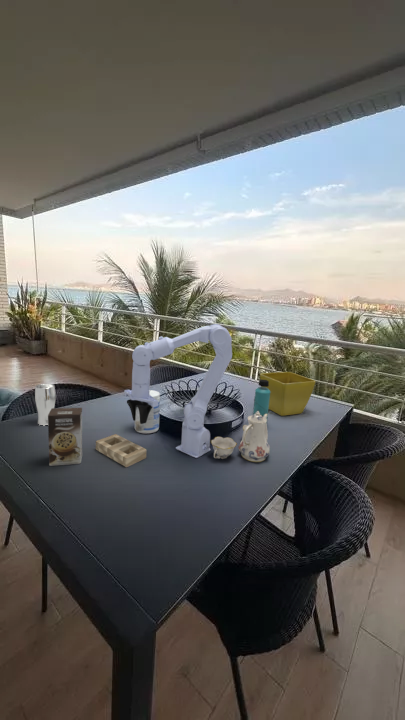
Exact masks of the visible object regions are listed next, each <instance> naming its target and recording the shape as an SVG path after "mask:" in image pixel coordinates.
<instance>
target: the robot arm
mask: <svg viewBox="0 0 405 720" xmlns="http://www.w3.org/2000/svg"><path fill="white" fill-rule="evenodd" d="M232 341H233V338H232V336H231V334H230V332H229V330H228V329H227V328H226V327H224V326H222V325H221V324H218V323H212V324H210V325H205V326H202V327H199V328H196V329H193V330H191V331H188V332H186V333H182V334H180V335H178V336H176V337H173V338H170V337H168V336H165V337H163V336H162V335H161V336H159V337H158V339H156V340H154V341H151V342H147V341H146V342H144V344H139V345H137V346H136V347H135V348H134V349H133V352H132V354H131V355H132V356H131V357H132V360H133V362H132V371H131V372H132V373H131V389H125V390H123V394H124V395H123V396H124V397H128V399H127V400H126V404H127V405H128V407H129V409H130V413H131V416H132V420H133V421H134V422H135V415H136V405H137V406H138V409H139V414H140V424H144V423H146V422H147V418H148V415H149V413H150V411H151V409H152V407H156V406H158V400H156V399H155V398H153V397H152V396H151V395H149V392H150V390H151V389H150V388H151V387H150V386H151V383H150V382H151V367H150V365H151V364H150V363H151V361H152V360H153V361H155V360H158V359H161V358H164V357H166V356H169V355H172V354H173V353H174V352H175V349H178V348H180V347H184V346H187V345H190V344H193V343H195V342H201V343H205V344H209V343H210V344H211V346H212V347H213V350H214V352H215V357H214V358H213V360H212V362H211V364H210V366H209V367H208V369H207V372H206V374H205V375H204V378H203V380H202V382H201V383H200V386H199V388H198V389H197V391H196V393H195V395H194V396H193V397H191V399H190V401H189V402H188V403H187V404H186V405H184V407H183V415H184V420H183V422H182V423H181V424H182V427H181V444H180V445H177V446H176V447H175V449H176V450H177V451H180V452H182V453H184V454H187V455H189V456H190V457H193V458H195V459H198V458H200V457H201V456H203V455H205V454H206V453H208V452H210V451H212V450H211V448H210V446H211V445H210V444H211V442H210V441H211V432H210V430H209V429H207V428H206V427H205V426H204V422H205V416H206V413H207V410H208V404H209V402H210V400H211V398H212V396H213V395H214V393H215V391H216V389H217V388H218V385H219V383H220V382H221V380H222V377H223V375H224V373H225V372H226V370H227V368H228V366H229V364H230V362H231V361H232V358H233V348H232V347H233V345H232Z"/></svg>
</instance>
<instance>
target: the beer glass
mask: <svg viewBox="0 0 405 720" xmlns="http://www.w3.org/2000/svg"><path fill="white" fill-rule="evenodd" d="M34 389H35V390H34V395H35V396H34V400H35V405H36V410H37V413H38V414H37V416H38V417H37V418H38V419H37V425H38V424H39V425H38V426H40V425H43V426H42V427H46V426H45V425H48V414H49V412H50V411H51V409H52V408H55V406H56V405H55V404H56V389H55V384H53V383H41V384H37V385H35V388H34Z"/></svg>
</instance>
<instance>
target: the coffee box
mask: <svg viewBox="0 0 405 720" xmlns="http://www.w3.org/2000/svg"><path fill="white" fill-rule="evenodd" d="M47 428H48V466H50V467H52V466H53V467H54V466H65V465H78V464H81V463H82V457H83V407H61V408H59V407H58V408H57V407H56V408H55V407H54V408H52V409H51V411H50V412H49V414H48V426H47Z"/></svg>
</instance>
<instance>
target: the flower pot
mask: <svg viewBox="0 0 405 720" xmlns="http://www.w3.org/2000/svg"><path fill="white" fill-rule="evenodd" d="M259 380H267V381H269V386H268V387H266V388H268V389H269V390H270V392H271V393H270V400H269V409H268V410H270V411H272V412H274V413H276V414H277V415H279V416H281V417H283V416H284V417H285V416H289V415H290V416H291V415H298V414H303V412H304V410H305V408H306V407H307V405H308V403H309V400H310V399H311V396H312V394H313V391H314V388H315V385H316V380H314V379H311V378H308V377H306V376H303V375H301V374H297V373H294V372H291V371H282V372H280V371H279V372H262V373H259ZM260 387H263V386H260Z"/></svg>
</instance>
